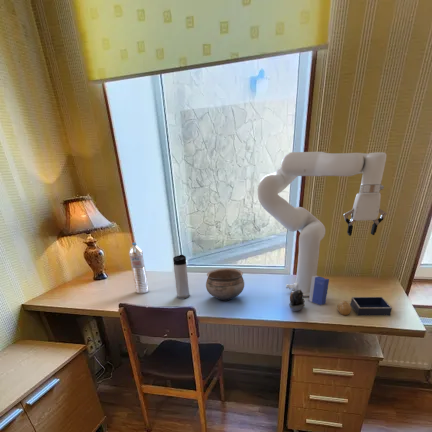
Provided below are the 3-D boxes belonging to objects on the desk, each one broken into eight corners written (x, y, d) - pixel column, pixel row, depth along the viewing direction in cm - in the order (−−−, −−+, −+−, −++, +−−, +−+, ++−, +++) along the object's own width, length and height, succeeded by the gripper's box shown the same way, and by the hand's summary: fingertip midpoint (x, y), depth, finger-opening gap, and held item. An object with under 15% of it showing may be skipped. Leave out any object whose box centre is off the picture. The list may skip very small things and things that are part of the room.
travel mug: (191, 294, 172) (188, 254, 161) (186, 299, 167) (182, 258, 156) (180, 293, 174) (176, 254, 163) (175, 298, 169) (170, 257, 158)
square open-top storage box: (357, 316, 141) (359, 307, 139) (350, 305, 152) (351, 297, 150) (389, 316, 140) (392, 307, 138) (380, 304, 151) (382, 296, 149)
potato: (338, 314, 141) (345, 304, 138) (334, 307, 147) (340, 297, 145) (348, 318, 142) (355, 308, 139) (343, 311, 148) (350, 301, 145)
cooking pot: (235, 309, 154) (235, 283, 147) (198, 305, 160) (196, 280, 153) (250, 291, 173) (250, 267, 166) (216, 288, 179) (215, 265, 172)
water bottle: (151, 290, 181) (143, 241, 166) (144, 294, 176) (135, 244, 161) (141, 289, 183) (132, 241, 169) (133, 293, 178) (124, 244, 164)
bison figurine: (288, 303, 156) (290, 282, 150) (303, 304, 155) (306, 282, 149) (288, 313, 146) (290, 291, 141) (305, 314, 145) (307, 291, 140)
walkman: (325, 304, 154) (329, 278, 147) (321, 305, 153) (324, 279, 146) (313, 299, 160) (316, 274, 153) (308, 300, 159) (311, 275, 152)
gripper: (388, 187, 136) (378, 232, 146) (345, 189, 138) (338, 233, 147) (395, 189, 130) (384, 236, 140) (350, 191, 132) (342, 237, 141)
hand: (360, 234), depth 144 cm, fingers open, 9 cm apart
